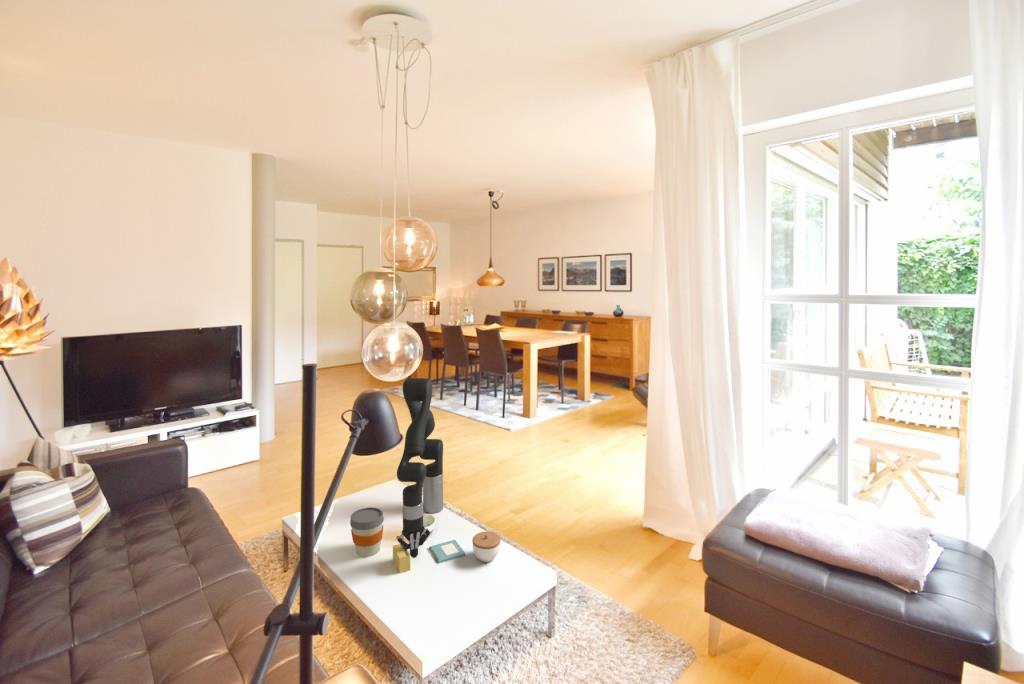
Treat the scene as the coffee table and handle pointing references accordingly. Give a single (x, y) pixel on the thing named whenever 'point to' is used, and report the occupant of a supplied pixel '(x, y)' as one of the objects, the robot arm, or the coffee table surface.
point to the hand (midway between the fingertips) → (413, 556)
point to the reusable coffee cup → (367, 531)
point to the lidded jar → (486, 546)
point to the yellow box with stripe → (401, 558)
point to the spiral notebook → (447, 551)
